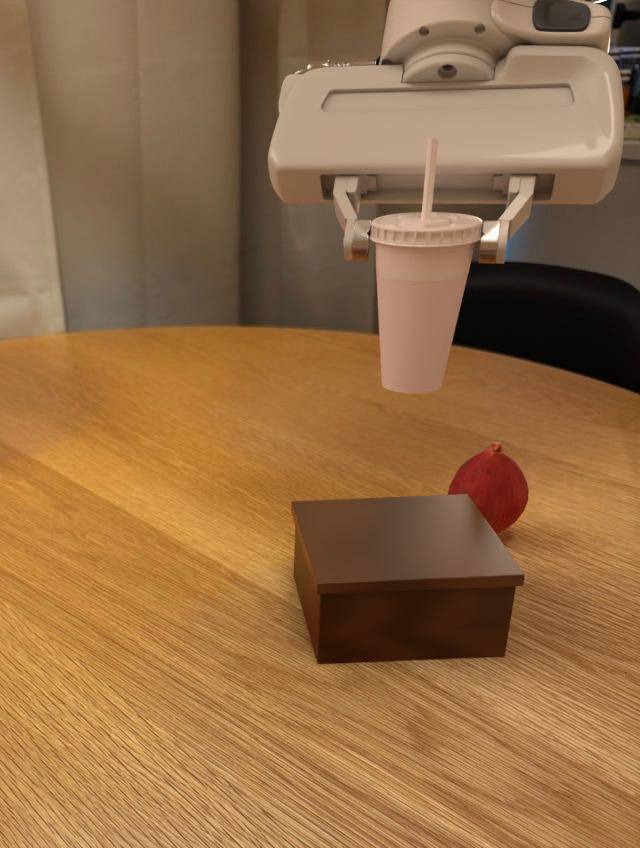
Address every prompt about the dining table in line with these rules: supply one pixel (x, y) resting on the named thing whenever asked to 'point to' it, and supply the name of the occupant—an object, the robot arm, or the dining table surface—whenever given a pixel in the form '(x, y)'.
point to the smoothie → (420, 287)
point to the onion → (493, 486)
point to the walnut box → (402, 578)
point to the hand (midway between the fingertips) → (423, 256)
